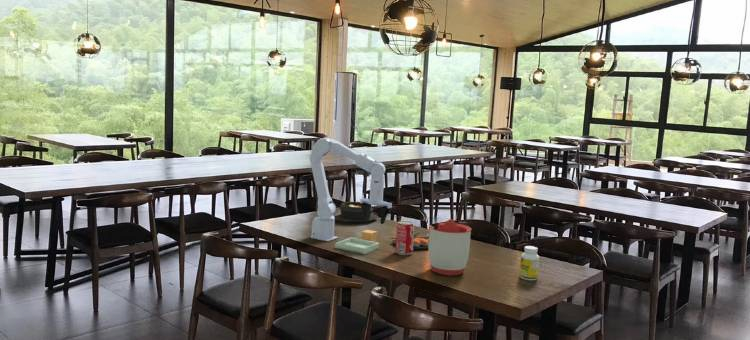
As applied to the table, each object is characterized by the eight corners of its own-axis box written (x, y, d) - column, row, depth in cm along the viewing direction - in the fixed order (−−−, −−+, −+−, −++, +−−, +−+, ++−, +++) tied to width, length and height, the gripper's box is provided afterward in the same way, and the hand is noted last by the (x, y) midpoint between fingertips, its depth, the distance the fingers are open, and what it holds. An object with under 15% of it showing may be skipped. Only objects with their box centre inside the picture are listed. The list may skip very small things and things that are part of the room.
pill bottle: (516, 275, 224) (519, 244, 223) (533, 275, 225) (536, 245, 223) (522, 280, 218) (525, 249, 216) (539, 281, 218) (542, 250, 217)
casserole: (348, 227, 286) (348, 210, 285) (324, 219, 299) (325, 203, 298) (386, 221, 302) (387, 205, 301) (362, 214, 316) (363, 199, 315)
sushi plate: (402, 253, 248) (403, 244, 248) (377, 235, 276) (377, 227, 275) (464, 249, 258) (465, 241, 258) (434, 232, 286) (434, 225, 286)
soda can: (412, 256, 242) (414, 225, 240) (394, 255, 243) (396, 223, 241) (413, 251, 249) (415, 221, 247) (396, 250, 250) (397, 219, 248)
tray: (335, 248, 248) (335, 242, 248) (351, 242, 259) (351, 237, 258) (364, 254, 241) (364, 248, 241) (379, 248, 252) (379, 243, 251)
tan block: (360, 242, 259) (361, 231, 258) (366, 240, 263) (367, 229, 263) (370, 244, 257) (371, 233, 256) (376, 242, 261) (377, 231, 260)
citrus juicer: (437, 261, 236) (440, 211, 234) (476, 272, 226) (480, 219, 223) (414, 269, 224) (417, 217, 222) (453, 280, 214) (457, 226, 211)
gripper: (357, 189, 257) (355, 220, 259) (386, 194, 250) (384, 226, 251) (365, 187, 263) (364, 218, 265) (394, 192, 256) (392, 223, 258)
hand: (374, 222), depth 258 cm, fingers open, 7 cm apart
